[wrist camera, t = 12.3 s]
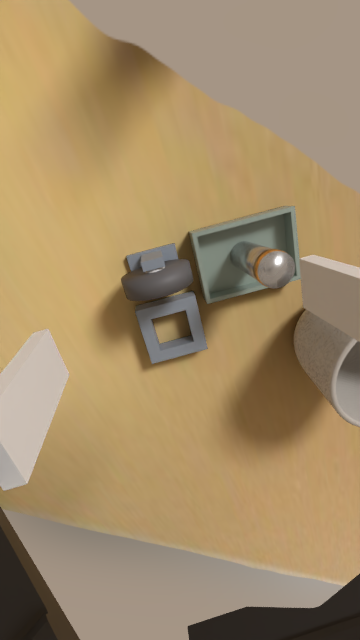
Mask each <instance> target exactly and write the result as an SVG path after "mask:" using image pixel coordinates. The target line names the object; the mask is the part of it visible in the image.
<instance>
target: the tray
mask: <svg viewBox="0 0 360 640" xmlns="http://www.w3.org/2000/svg"><path fill="white" fill-rule="evenodd" d="M189 235H190V240H191V244H192V249H193V253H194V258H195V262H196V267H197V271H198V275H199V280H200V284H201V289H202V293H203V298H204V300H205V301H206V303H207V304H209V303H213V302H217V301H221V300H224V299H228V298H232V297H235V296H239V295H243V294H247V293H250V292H254V291H258V290H261V289H265V288H269V287H266V286H264V285H262V284H261V283H259V282H258V281H257V280H256V279H255V278H253V277H251V276H250V275H248V274H247V273H245V272H243V271H242V270H240V269H239V268H237V267H236V266H234V265H233V263H232V262H231V259H230V253H231V250H232V248H233V247H234V246H235V245H236V244H237V243H238V242H241V241H249V242H252V243H255V244H258V245H262V246H265V247H268V248H272V249H278V250H281V251H284V252H286V253H288V254H289V255H290V256H291V257H292V258H293V260H294V263H295V273H294V275H293V278H292V279H291V280H290V282H291V281H295V280H298V279H301V274H300V262H299V248H298V237H297V225H296V214H295V206H283V207H279V208H275V209H272V210H268V211H264V212H260V213H257V214H253V215H249V216H245V217H242V218H238V219H234V220H230V221H227V222H223V223H219V224H215V225H212V226H208V227H204V228H200V229H197V230H193V231H189Z"/></svg>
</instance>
